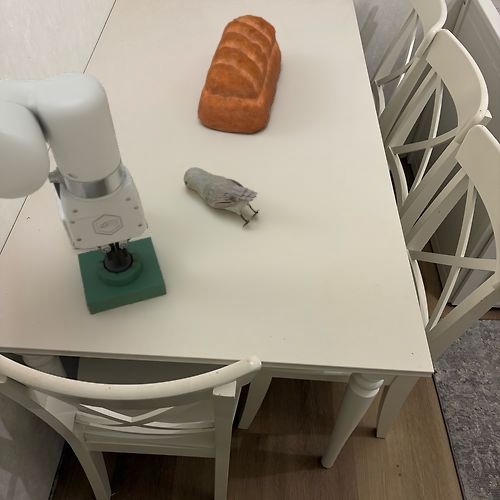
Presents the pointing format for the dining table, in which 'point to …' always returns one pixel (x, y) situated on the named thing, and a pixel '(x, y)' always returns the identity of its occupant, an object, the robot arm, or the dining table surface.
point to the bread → (241, 77)
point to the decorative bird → (220, 191)
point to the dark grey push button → (112, 269)
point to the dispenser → (121, 277)
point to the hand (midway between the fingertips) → (118, 259)
